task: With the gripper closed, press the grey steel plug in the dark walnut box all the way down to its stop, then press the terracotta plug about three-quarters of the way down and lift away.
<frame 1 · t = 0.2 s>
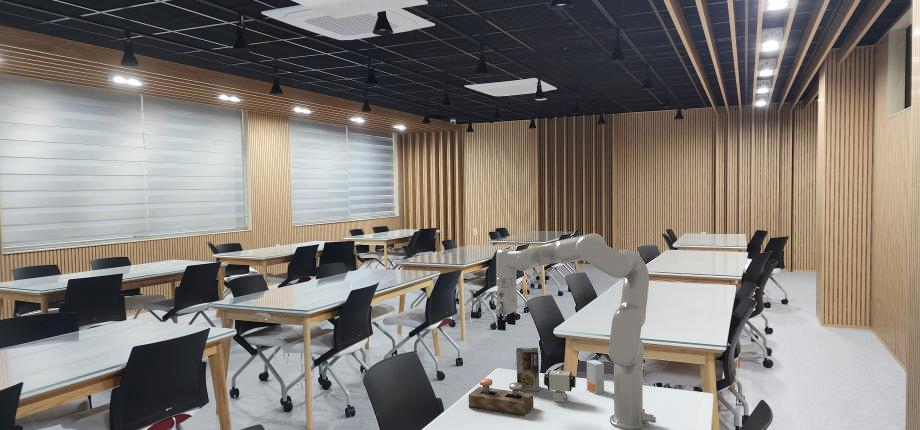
hand: (506, 327, 227), 30 cm above the table, tool pointing down, fingers open, 9 cm apart
coffee box: (528, 388, 246), on the table
terracotta plug: (486, 387, 228), point 7 cm above the table, slide at 0.0 cm
pneumatic valve: (560, 400, 232), on the table
steel plug: (515, 391, 223), point 7 cm above the table, slide at 0.0 cm
skincare box: (595, 392, 241), on the table
plug box: (501, 407, 226), on the table
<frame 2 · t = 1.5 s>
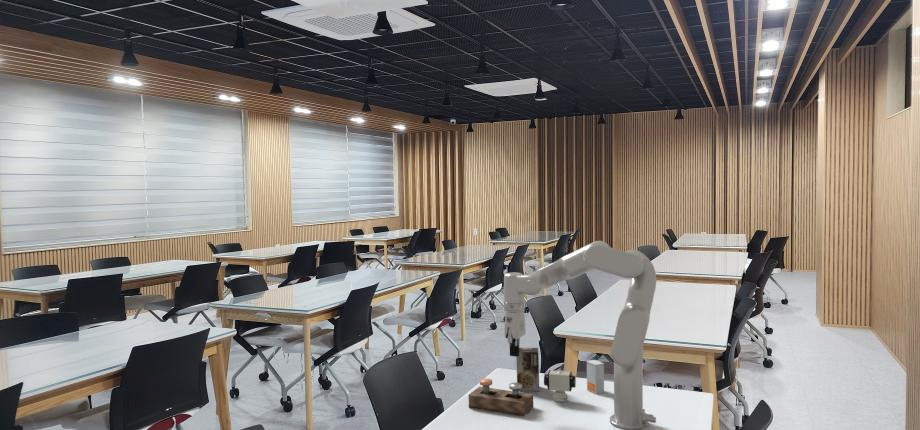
hand: (514, 355, 222), 20 cm above the table, tool pointing down, fingers closed
nothing on the table moved.
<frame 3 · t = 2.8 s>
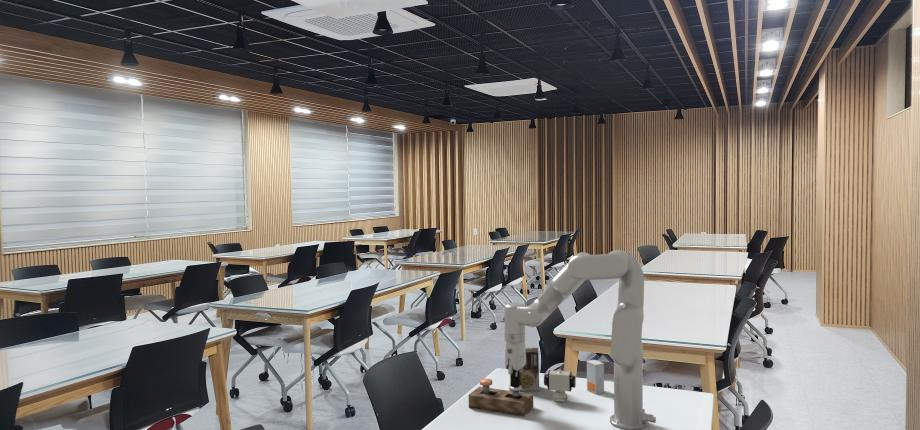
hand: (515, 386, 223), 9 cm above the table, tool pointing down, fingers closed
steel plug: (515, 393, 223), point 6 cm above the table, slide at 0.6 cm, touching gripper
everything else where it was.
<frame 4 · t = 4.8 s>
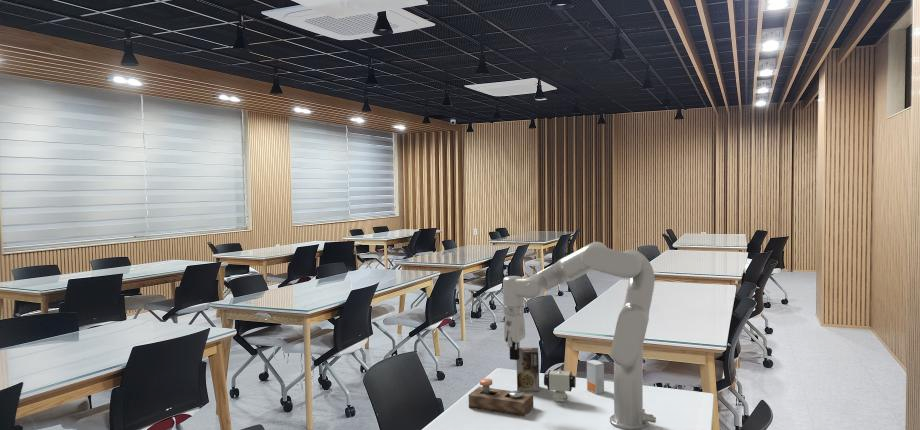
hand: (514, 359, 222), 19 cm above the table, tool pointing down, fingers closed
steel plug: (515, 399, 223), point 4 cm above the table, slide at 3.1 cm
everything else where it was.
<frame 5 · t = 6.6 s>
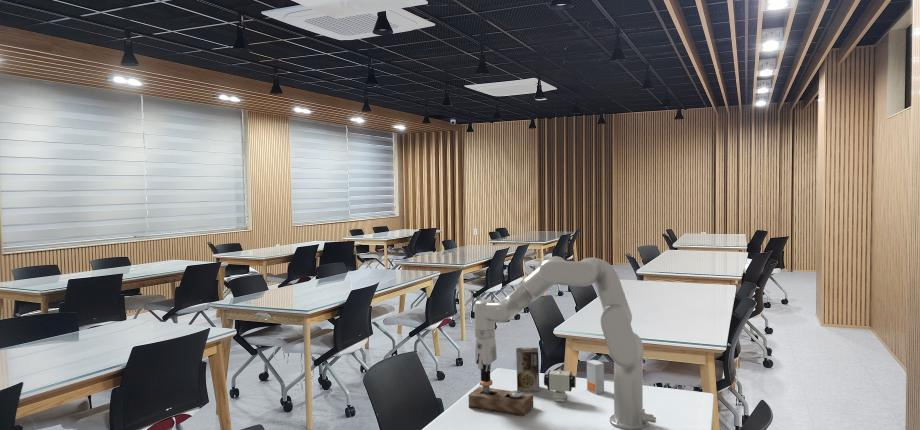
hand: (485, 380, 228), 9 cm above the table, tool pointing down, fingers closed
terracotta plug: (486, 387, 228), point 7 cm above the table, slide at 0.1 cm, touching gripper
everything else where it was.
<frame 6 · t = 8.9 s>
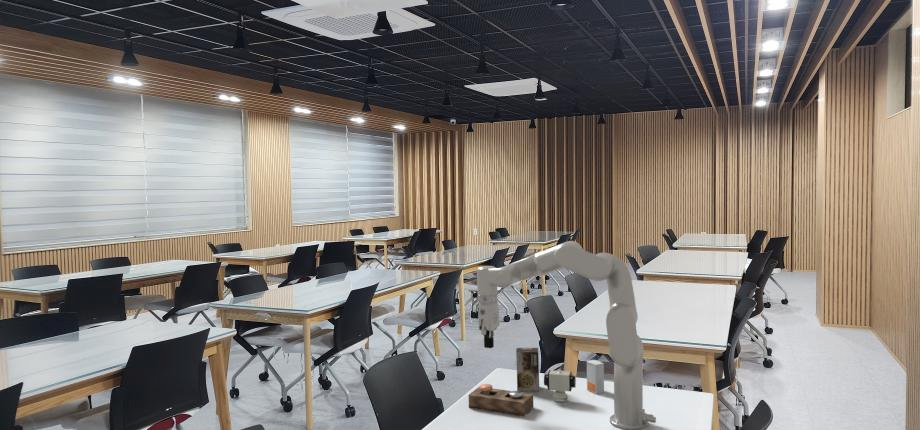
hand: (489, 347, 227), 22 cm above the table, tool pointing down, fingers closed
terracotta plug: (486, 393, 228), point 5 cm above the table, slide at 2.1 cm
everything else where it was.
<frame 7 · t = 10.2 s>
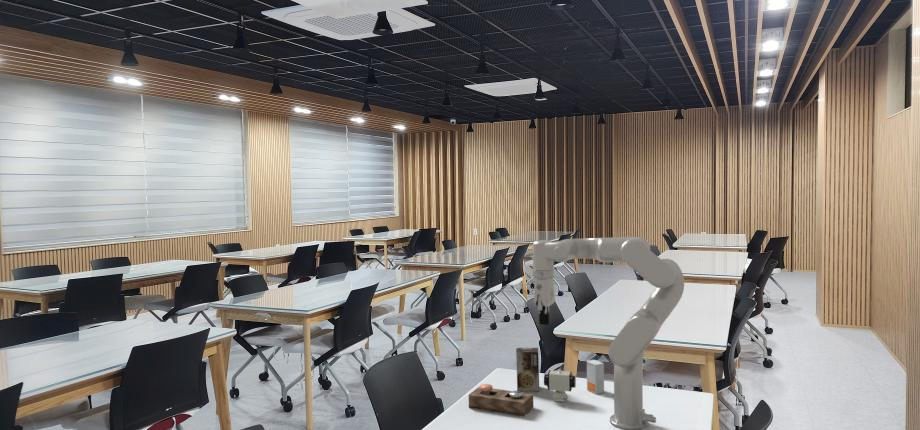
hand: (544, 324, 221), 32 cm above the table, tool pointing down, fingers closed
nothing on the table moved.
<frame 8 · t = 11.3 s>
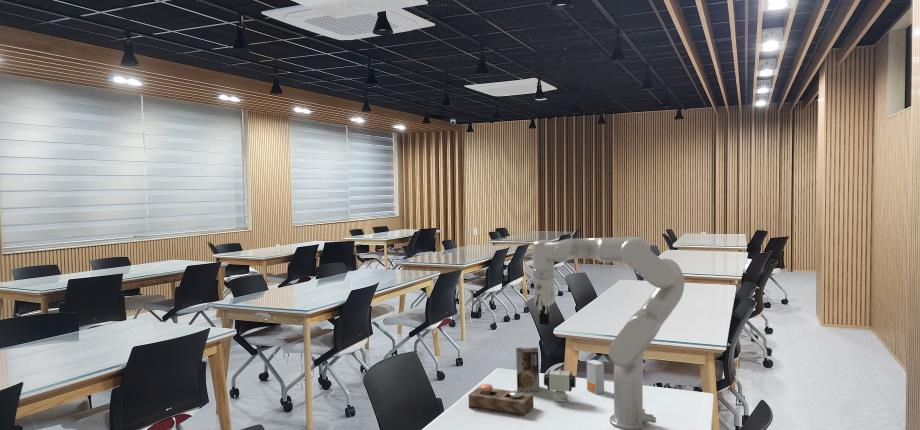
hand: (544, 324, 221), 32 cm above the table, tool pointing down, fingers closed
nothing on the table moved.
at the end: steel plug slide at 3.1 cm; terracotta plug slide at 2.1 cm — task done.
